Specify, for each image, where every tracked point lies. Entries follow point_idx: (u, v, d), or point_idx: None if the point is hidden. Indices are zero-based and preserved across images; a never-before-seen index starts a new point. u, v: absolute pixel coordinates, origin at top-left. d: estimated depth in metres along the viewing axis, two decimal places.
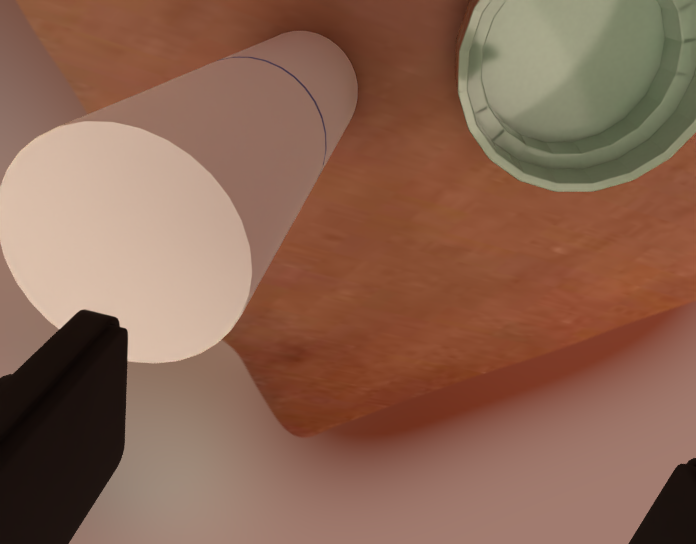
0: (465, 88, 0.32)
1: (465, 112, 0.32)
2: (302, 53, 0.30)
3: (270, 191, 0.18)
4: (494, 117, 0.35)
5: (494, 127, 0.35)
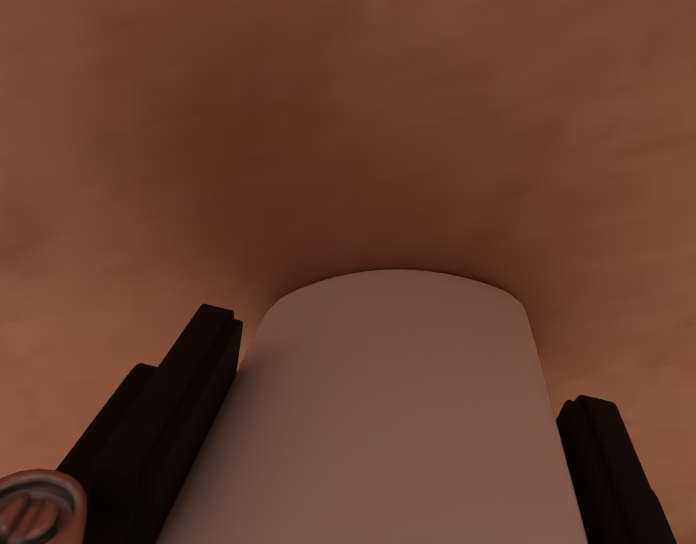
0: None
1: None
2: None
3: None
4: None
5: None
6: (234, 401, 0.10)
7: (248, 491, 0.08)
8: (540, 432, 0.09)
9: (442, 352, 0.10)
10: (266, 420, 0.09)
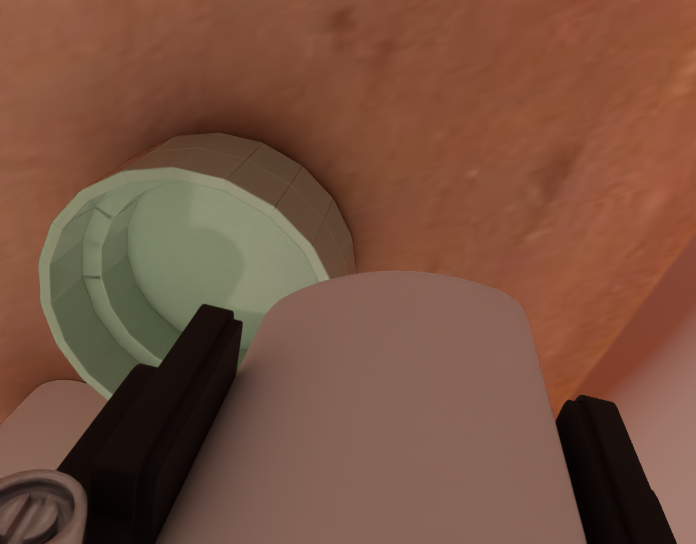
0: None
1: None
2: None
3: None
4: None
5: None
6: (233, 403, 0.10)
7: (246, 493, 0.08)
8: (539, 433, 0.09)
9: (441, 353, 0.10)
10: (266, 421, 0.09)
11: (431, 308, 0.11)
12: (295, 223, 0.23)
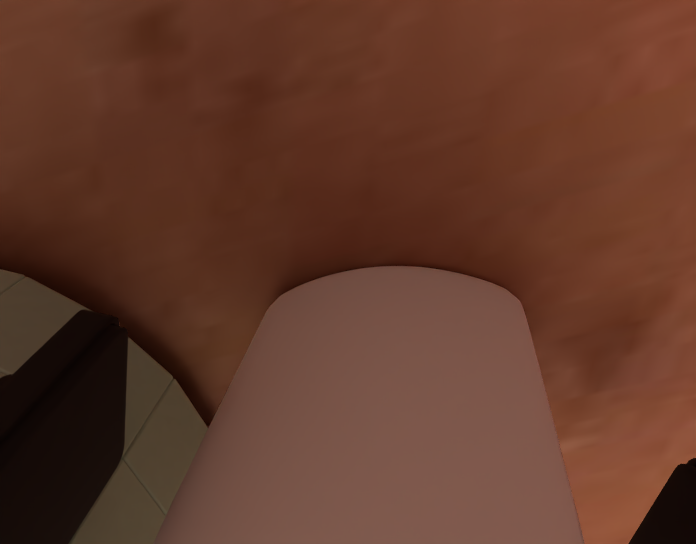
0: None
1: None
2: None
3: None
4: None
5: None
6: (237, 393, 0.10)
7: (250, 478, 0.08)
8: (535, 423, 0.09)
9: (440, 346, 0.10)
10: (269, 410, 0.09)
11: (430, 302, 0.11)
12: None
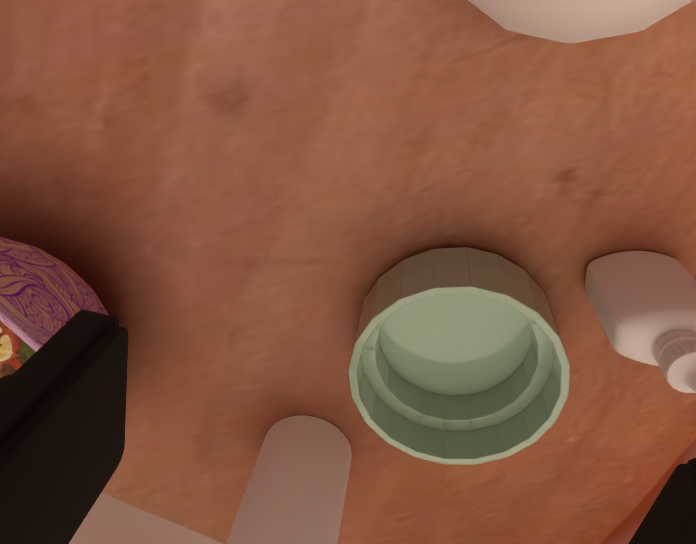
0: (388, 438, 0.39)
1: (401, 449, 0.39)
2: (272, 492, 0.40)
3: None
4: (432, 417, 0.41)
5: (438, 423, 0.41)
6: (608, 286, 0.35)
7: (638, 300, 0.32)
8: None
9: (668, 272, 0.34)
10: (628, 288, 0.34)
11: (657, 261, 0.36)
12: (548, 322, 0.34)
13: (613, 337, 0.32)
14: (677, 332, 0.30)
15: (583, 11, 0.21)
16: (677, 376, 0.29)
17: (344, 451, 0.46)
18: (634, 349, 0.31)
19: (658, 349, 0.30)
